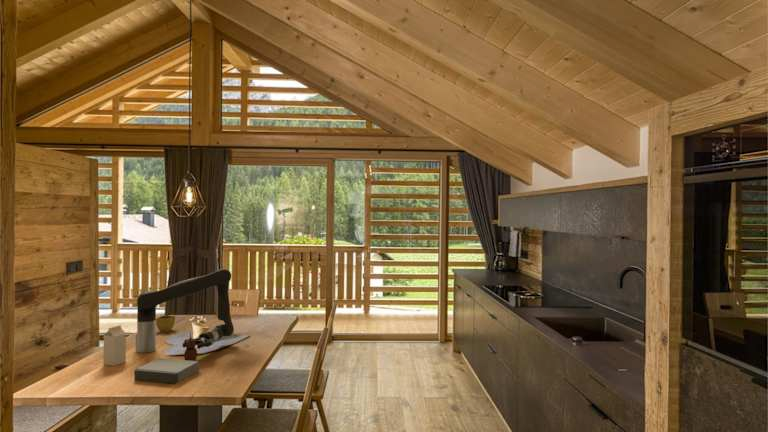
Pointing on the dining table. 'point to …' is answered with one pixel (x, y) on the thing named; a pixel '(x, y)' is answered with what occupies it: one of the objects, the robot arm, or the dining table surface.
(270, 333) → the dining table surface
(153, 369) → the block
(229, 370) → the dining table surface
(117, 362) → the milk carton
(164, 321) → the flower pot
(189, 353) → the wooden figurine
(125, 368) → the dining table surface
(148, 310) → the robot arm
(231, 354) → the dining table surface
